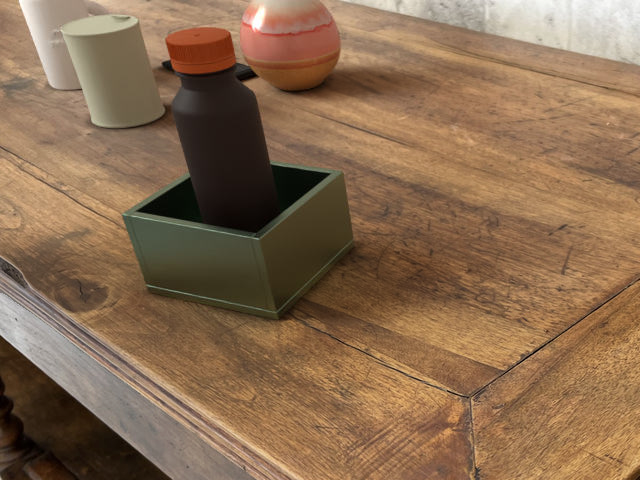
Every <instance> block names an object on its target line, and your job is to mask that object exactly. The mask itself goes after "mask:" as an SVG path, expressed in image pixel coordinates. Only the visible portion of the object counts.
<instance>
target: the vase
mask: <svg viewBox="0 0 640 480" xmlns="http://www.w3.org/2000/svg"><path fill="white" fill-rule="evenodd" d="M239 43H240V49H241V53H242V56H243V59H244V60H245V62H246V63H247V64H246V65H247V66H250V68H251V69H252V70H253V71H254V72H255V73H256V75H257V76H258V77H259V78H261V80H264V81H266V82H267V83H269V84H270V85H271V86H273V87H274V88H276V89H278V90H282V91H286V92H288V91H289V92H299V91H305V90H311V89H314V88H316V87H318V86H320V85H322V83H323V82H325V80H326V79H327V77H328V76H330V75H331V73H332V72H333V71H334V69H336V66H337V65H338V62H339V60H340V57H341V52H342V41H341V36H340V30H339V28H338V24H337V22H336V20H335V18H334V16H333V14H332V12H331V11H330V10H329V8H328V7H327V6H326V5H325V4H324V3H323V1H321V0H251V1H250V2H249V4H248V5H247V7H246V8H245V10H244V13H243V15H242V18H241V21H240V26H239Z"/></svg>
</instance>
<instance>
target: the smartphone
mask: <svg viewBox="0 0 640 480" xmlns="http://www.w3.org/2000/svg"><path fill="white" fill-rule="evenodd" d="M236 64H237V69H236V70H235V75H236V78H237V79H238V80H239V81H240V80H243V79H246V78H249V77H252V76H255V75H257V74H256V73H255V72H254V71H253V70H252V69H251V68H250V66H249V65H248V64H244V63H240V62H238V61H237V62H236ZM161 66H162V68H164V69H168V70H171V71H174V72H175V70H174V69H173V67H172V64H171V60H170V59H167V60H164V61H162V62H161Z"/></svg>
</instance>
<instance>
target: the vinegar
mask: <svg viewBox="0 0 640 480" xmlns="http://www.w3.org/2000/svg"><path fill="white" fill-rule="evenodd" d="M164 41H165V42H164V43H165V45H166V48H167V53H168V56H169V60H171V64H172V67H173V69H174V70H175V71H174V70H173V71H174V75H175V76H176V77H178V78H179V80H180V84H181V86H180V87H179V89H178V90H177V92H176V94H175V95H174V97H173V99H172V100H171V107H170V108H171V115H172V117H173V121H174V124H175V128H176V131H177V134H178V138H179V141H180V146H181V150H182V153H183V156H184V161H185V163H186V167H187V171H188V172H189V174H190V178H191V181H192V185H193V188H194V192H195V195H196V199H197V202H198V206H199V209H200V213H201V217H202V220H203V224H207V225H213V226H218V227H224V228H230V229H235V230H241V231H246V232H252V233H258V232H259V231H260V230H261V229H263V228H264V227H265V226H266V225H268V224H269V223H270V222H271V221H273V220H274V219H275V218H276V217H278V216H279V215H280V214H281V211H280V206H279V201H278V196H277V192H276V187H275V182H274V178H273V173H272V168H271V163H270V160H271V159H270V154H269V149H268V145H267V140H266V136H265V131H264V126H263V121H262V116H261V112H260V107H259V101H258V99H257V95H256V93H255V92H254V91H253V90H252V89H251V88H249V87H248V86H247V85H246V84H245V83H243V82H242V81H240V80H238V79H237V78H236V75H235V70H236V69H237V64H236V62H237V63H238V61H237V58H236V52H235V47H234V42H233V37H232V33H231V32H230V31H229V30H228V29H225V28H221V27H215V26H214V27H213V26H200V27H192V28H185V29H181V30H178V31H174V32H172V33H170V34H168V35H167V36H166V37H165V39H164Z"/></svg>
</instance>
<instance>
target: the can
mask: <svg viewBox="0 0 640 480" xmlns="http://www.w3.org/2000/svg"><path fill="white" fill-rule="evenodd" d="M61 32H62V34H63V37H64V39H65V42H66V44H67V47H68V50H69V53H70V56H71V58H72V61H73V64H74V67H75V70H76V72H77V75H78V78H79V81H80V84H81V87H82V89H81V90H82V92H83V95H84V98H85V101H86V105H87V108H88V111H89V115H90V120H91V122H92V124H93V125H95V126H97V127H100V128H103V129H128V128H134V127H139V126H144V125H147V124H149V123H150V124H151V123H152V122H155V121H157V120H159V119H160V118H161V117H163V116H164V114H165V113H166V108H165V106H164V104H163V102H162V97H161V95H160V92H159V88H158V86H157V82H156V78H155V76H154V72H153V68H152V64H151V61H150V58H149V54H148V51H147V47H146V43H145V39H144V37H143V36H144V35H143V32H142V29H141V25H140V19H139V18H138V17H136V16H134V15H128V14H112V15H99V16H94V15H92V16H89V17H85V18H81V19H77V20H74V21H71V22H68V23H66V24H64V25H63V26H62V27H61Z"/></svg>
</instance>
